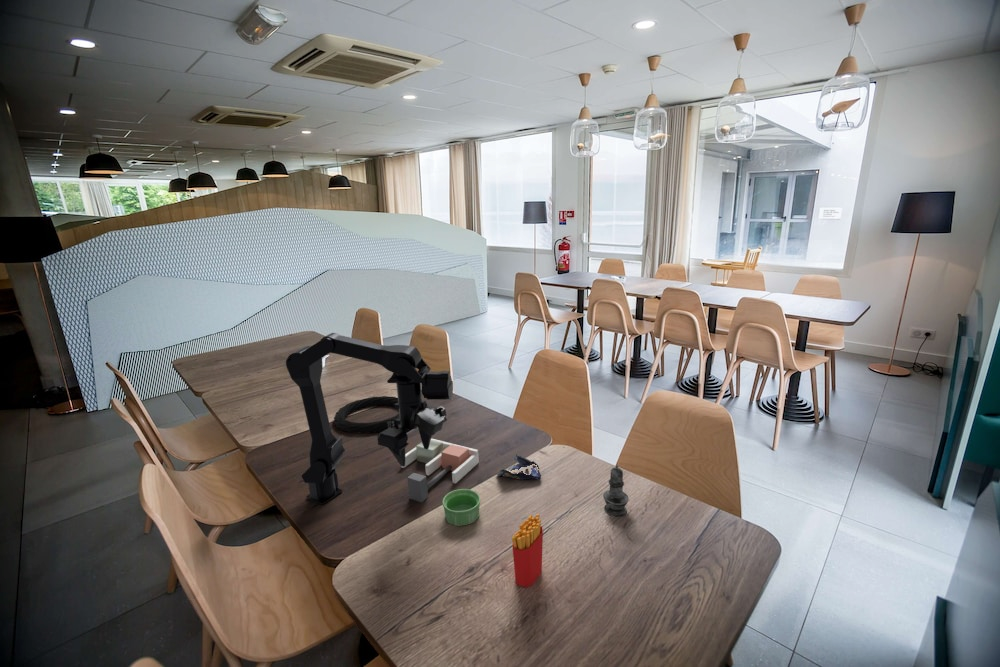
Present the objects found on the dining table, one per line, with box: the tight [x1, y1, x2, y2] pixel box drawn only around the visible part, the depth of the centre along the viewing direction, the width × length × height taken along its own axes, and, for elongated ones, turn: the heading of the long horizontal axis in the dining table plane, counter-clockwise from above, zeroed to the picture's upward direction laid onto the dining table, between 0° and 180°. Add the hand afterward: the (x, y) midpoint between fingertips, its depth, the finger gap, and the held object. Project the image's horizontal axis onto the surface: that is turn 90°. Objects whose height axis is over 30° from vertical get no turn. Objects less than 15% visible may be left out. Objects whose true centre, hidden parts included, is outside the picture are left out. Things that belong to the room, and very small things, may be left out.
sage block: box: [415, 440, 443, 464], centre depth 133 cm, size 5×6×5 cm
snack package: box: [495, 454, 542, 480], centre depth 123 cm, size 12×6×12 cm
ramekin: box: [442, 488, 481, 527], centre depth 106 cm, size 9×9×4 cm
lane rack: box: [400, 437, 480, 484], centre depth 129 cm, size 12×19×4 cm, turn 61°
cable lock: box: [333, 395, 401, 434], centre depth 162 cm, size 28×4×30 cm
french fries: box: [511, 513, 544, 588], centre depth 87 cm, size 8×4×12 cm, turn 146°
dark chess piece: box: [603, 464, 629, 518], centre depth 106 cm, size 6×6×12 cm
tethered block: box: [407, 444, 469, 504], centre depth 121 cm, size 21×6×6 cm, turn 151°
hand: (415, 457), depth 112 cm, fingers open, 9 cm apart
